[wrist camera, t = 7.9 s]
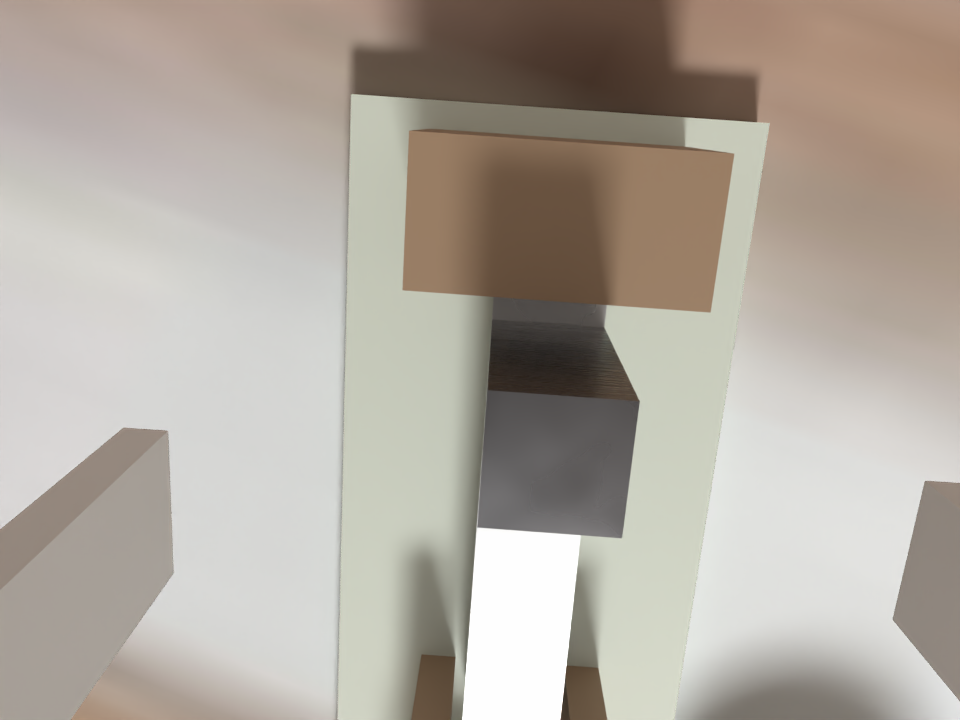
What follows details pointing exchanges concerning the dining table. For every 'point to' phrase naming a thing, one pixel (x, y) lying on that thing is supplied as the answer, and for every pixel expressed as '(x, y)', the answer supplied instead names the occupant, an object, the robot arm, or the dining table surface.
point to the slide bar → (542, 496)
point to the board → (464, 372)
